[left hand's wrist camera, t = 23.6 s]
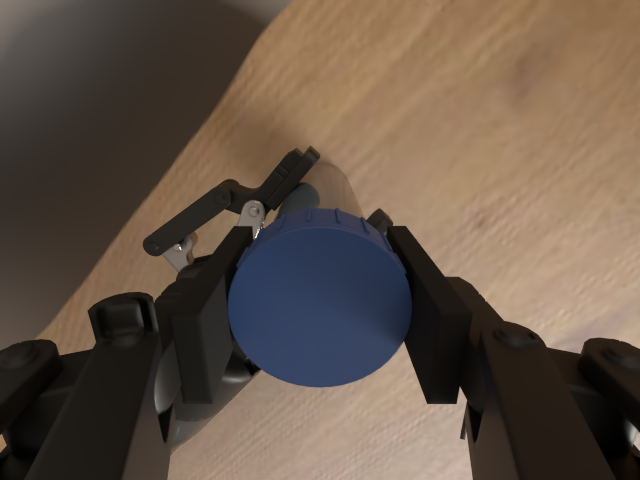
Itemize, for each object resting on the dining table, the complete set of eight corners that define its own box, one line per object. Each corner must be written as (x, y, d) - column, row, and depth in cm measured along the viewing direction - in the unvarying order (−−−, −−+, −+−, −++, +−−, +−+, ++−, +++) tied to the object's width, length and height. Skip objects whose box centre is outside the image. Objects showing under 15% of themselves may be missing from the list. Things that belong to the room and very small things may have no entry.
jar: (322, 148, 24) (326, 196, 10) (364, 197, 26) (419, 300, 11) (275, 192, 25) (218, 290, 11) (317, 236, 27) (314, 375, 12)
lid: (216, 231, 11) (194, 254, 9) (381, 185, 11) (394, 201, 9) (269, 362, 13) (261, 404, 11) (412, 329, 13) (428, 368, 11)
